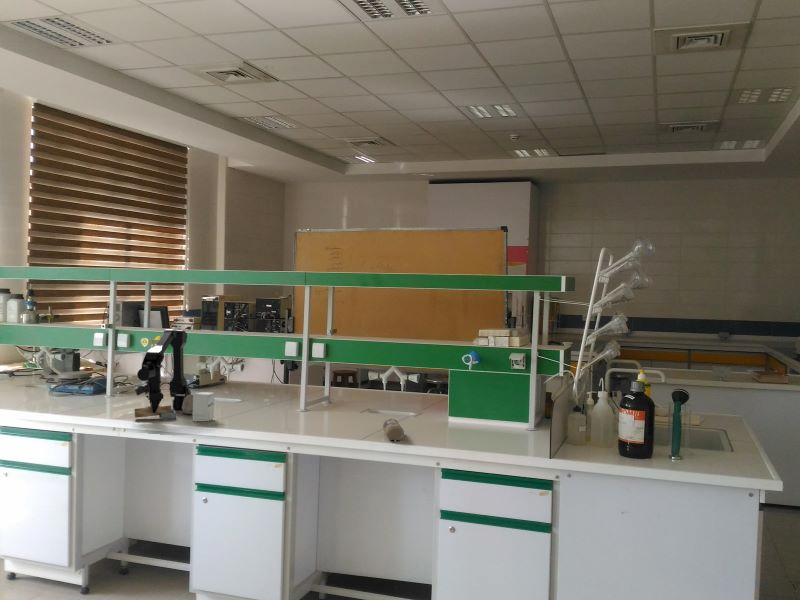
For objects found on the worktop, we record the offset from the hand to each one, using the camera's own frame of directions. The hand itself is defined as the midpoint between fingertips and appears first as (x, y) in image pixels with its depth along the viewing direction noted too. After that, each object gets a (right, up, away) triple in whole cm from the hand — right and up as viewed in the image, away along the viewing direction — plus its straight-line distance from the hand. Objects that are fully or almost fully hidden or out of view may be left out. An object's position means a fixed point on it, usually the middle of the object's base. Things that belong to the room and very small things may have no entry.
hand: (153, 412), depth 338 cm
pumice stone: (+16, -4, +14) cm, 21 cm away
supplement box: (+23, -4, -1) cm, 24 cm away
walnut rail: (0, -2, 0) cm, 2 cm away
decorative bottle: (+111, -7, -26) cm, 114 cm away
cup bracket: (+6, -3, +3) cm, 7 cm away
